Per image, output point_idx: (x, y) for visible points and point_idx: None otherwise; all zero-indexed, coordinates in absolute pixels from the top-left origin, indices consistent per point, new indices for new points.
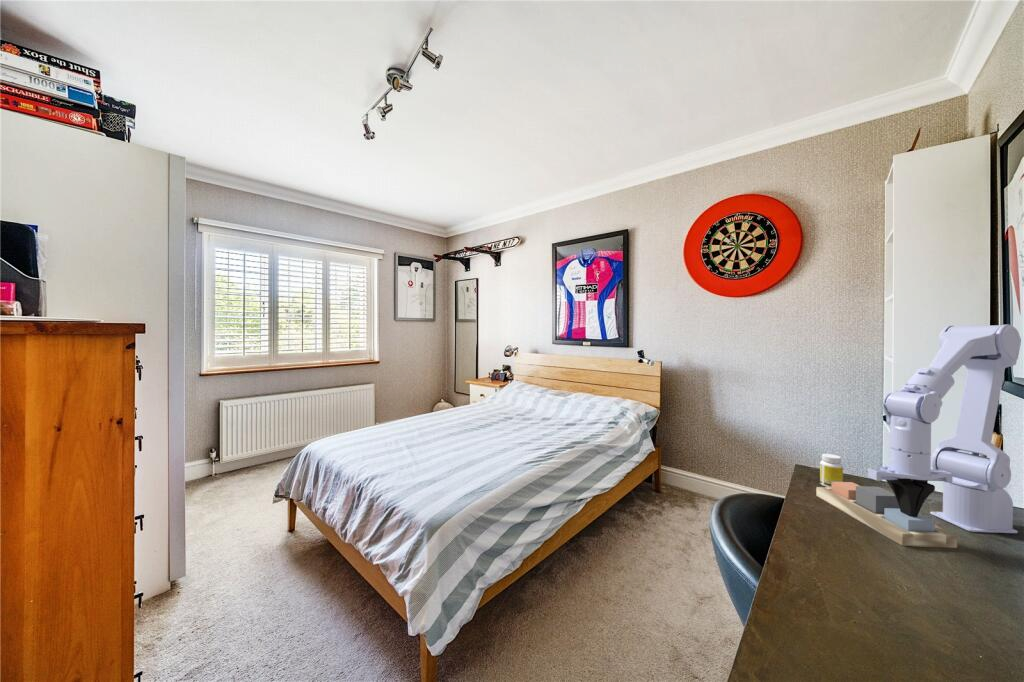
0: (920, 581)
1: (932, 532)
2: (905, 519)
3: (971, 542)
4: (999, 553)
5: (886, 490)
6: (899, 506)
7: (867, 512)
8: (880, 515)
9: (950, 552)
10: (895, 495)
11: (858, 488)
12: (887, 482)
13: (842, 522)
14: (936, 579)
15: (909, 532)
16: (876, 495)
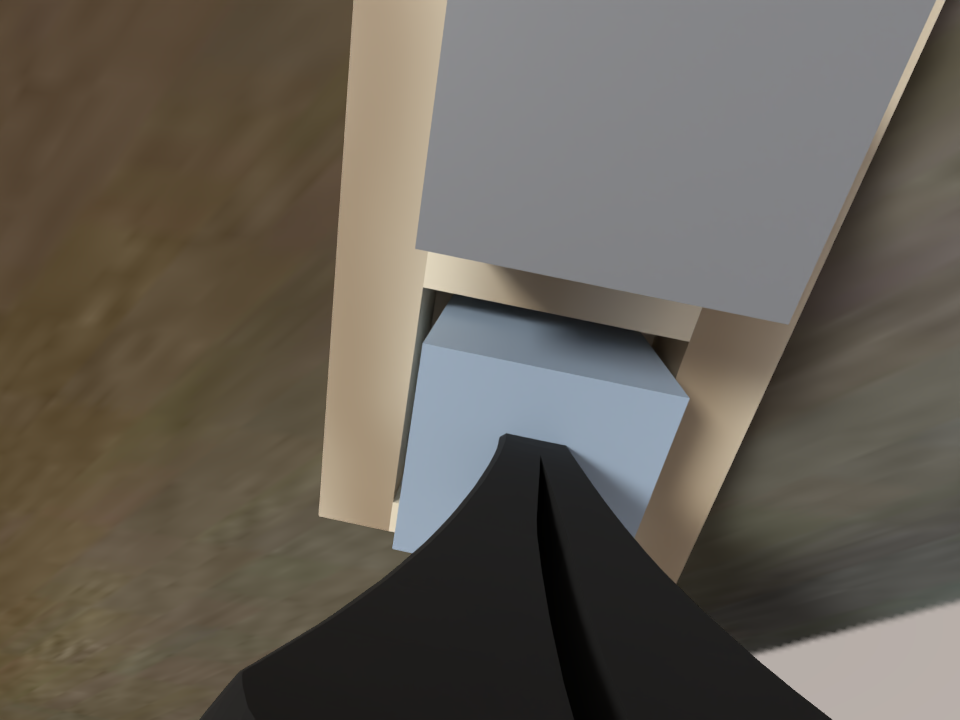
0: (159, 643)
1: None
2: (398, 522)
3: (840, 507)
4: (817, 598)
5: (898, 60)
6: (496, 455)
7: (384, 200)
8: (452, 271)
9: None
10: (449, 522)
11: None
12: (292, 641)
13: (216, 156)
14: (234, 648)
15: (386, 513)
16: (427, 248)
